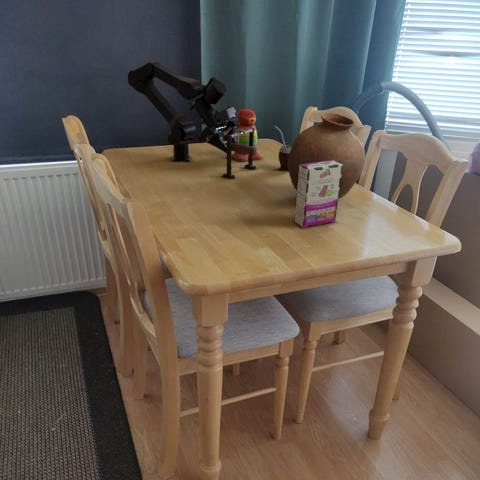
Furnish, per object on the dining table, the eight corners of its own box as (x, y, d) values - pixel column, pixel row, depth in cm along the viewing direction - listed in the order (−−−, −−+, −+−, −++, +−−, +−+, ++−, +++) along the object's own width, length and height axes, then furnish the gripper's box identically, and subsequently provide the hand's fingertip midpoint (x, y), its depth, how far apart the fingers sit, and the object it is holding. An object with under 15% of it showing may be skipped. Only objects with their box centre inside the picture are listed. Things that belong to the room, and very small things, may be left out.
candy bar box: (325, 216, 140) (333, 159, 131) (335, 222, 136) (344, 164, 127) (292, 222, 136) (298, 163, 127) (302, 228, 132) (309, 168, 123)
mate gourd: (300, 170, 178) (304, 127, 169) (283, 173, 174) (287, 129, 165) (287, 165, 183) (291, 123, 174) (271, 168, 179) (274, 125, 170)
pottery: (283, 185, 163) (290, 105, 149) (351, 188, 162) (364, 108, 148) (286, 209, 144) (294, 121, 130) (363, 212, 144) (380, 124, 130)
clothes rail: (222, 176, 168) (223, 134, 160) (246, 166, 179) (248, 127, 171) (232, 179, 166) (233, 136, 158) (255, 168, 177) (257, 128, 169)
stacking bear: (239, 162, 184) (241, 112, 174) (227, 155, 191) (228, 107, 181) (263, 159, 188) (266, 110, 178) (250, 152, 196) (252, 105, 186)
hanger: (225, 149, 171) (225, 127, 166) (228, 148, 172) (228, 126, 168) (253, 155, 165) (254, 132, 161) (256, 154, 167) (257, 131, 162)
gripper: (204, 101, 157) (232, 142, 158) (236, 94, 170) (261, 132, 171) (186, 123, 164) (212, 161, 166) (218, 115, 178) (242, 151, 179)
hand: (233, 151), depth 170 cm, fingers open, 6 cm apart
